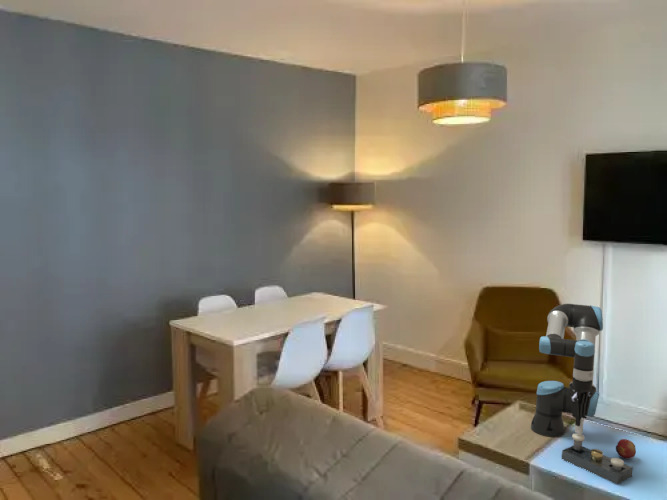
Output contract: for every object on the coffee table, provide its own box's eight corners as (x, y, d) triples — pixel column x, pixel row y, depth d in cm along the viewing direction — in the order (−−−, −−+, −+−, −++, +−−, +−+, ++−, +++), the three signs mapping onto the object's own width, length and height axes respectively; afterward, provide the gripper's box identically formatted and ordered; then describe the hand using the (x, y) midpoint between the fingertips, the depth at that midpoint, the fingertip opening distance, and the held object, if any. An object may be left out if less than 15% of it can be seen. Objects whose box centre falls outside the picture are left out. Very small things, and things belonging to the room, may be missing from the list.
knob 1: (569, 447, 233) (570, 434, 233) (575, 445, 236) (576, 432, 235) (579, 452, 230) (580, 438, 229) (585, 449, 232) (586, 436, 232)
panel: (561, 459, 233) (562, 450, 233) (576, 452, 239) (577, 444, 239) (617, 484, 213) (618, 474, 213) (632, 476, 220) (632, 467, 219)
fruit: (634, 464, 230) (636, 446, 229) (614, 459, 234) (615, 441, 233) (635, 457, 237) (637, 439, 236) (615, 452, 241) (617, 434, 240)
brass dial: (588, 457, 226) (589, 450, 226) (594, 455, 229) (595, 447, 229) (598, 462, 223) (599, 454, 223) (604, 459, 225) (605, 451, 225)
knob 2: (607, 473, 220) (608, 459, 219) (613, 470, 222) (614, 456, 222) (618, 478, 216) (619, 464, 215) (625, 475, 219) (626, 461, 218)
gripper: (582, 383, 223) (578, 439, 225) (599, 378, 230) (595, 432, 233) (565, 378, 229) (561, 432, 231) (583, 373, 236) (579, 425, 239)
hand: (578, 432), depth 232 cm, fingers closed
